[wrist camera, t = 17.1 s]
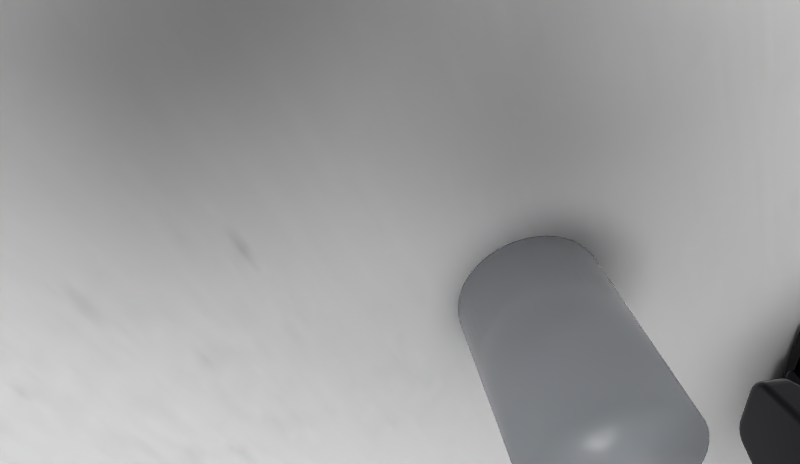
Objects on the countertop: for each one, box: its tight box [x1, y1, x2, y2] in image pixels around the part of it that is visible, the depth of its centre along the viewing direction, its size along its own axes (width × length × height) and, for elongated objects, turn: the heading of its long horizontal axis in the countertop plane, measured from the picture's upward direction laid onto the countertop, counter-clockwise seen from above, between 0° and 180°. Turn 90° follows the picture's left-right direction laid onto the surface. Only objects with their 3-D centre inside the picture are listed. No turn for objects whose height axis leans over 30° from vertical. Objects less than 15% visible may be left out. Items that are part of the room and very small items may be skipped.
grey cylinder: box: [458, 236, 709, 464], centre depth 21 cm, size 5×5×7 cm
